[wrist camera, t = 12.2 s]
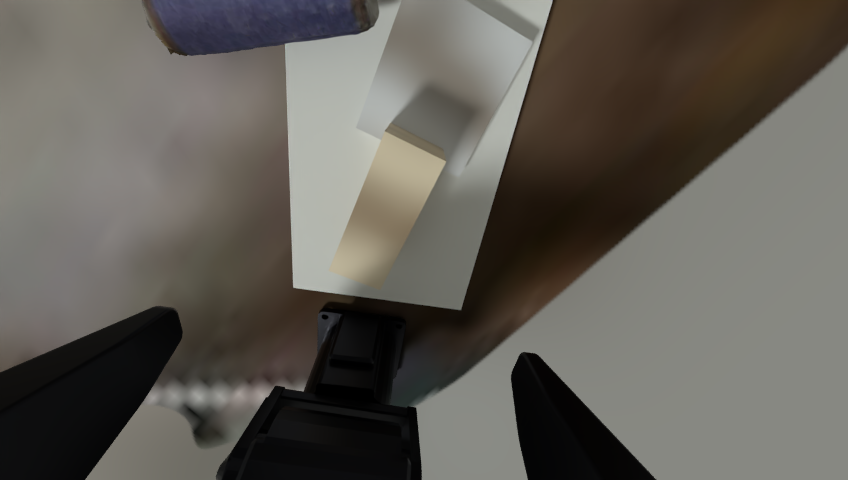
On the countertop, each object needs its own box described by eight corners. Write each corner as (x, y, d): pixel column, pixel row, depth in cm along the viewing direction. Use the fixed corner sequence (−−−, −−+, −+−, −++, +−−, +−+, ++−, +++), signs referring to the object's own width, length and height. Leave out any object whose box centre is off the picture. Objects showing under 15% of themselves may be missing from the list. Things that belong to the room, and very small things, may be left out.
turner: (407, 265, 21) (404, 299, 18) (320, 231, 19) (301, 260, 16) (527, 43, 15) (555, 35, 12) (413, -27, 13) (410, -57, 10)
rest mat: (460, 305, 23) (460, 310, 23) (295, 283, 22) (293, 287, 22) (561, -42, 14) (566, -46, 13) (284, -108, 13) (279, -115, 12)
